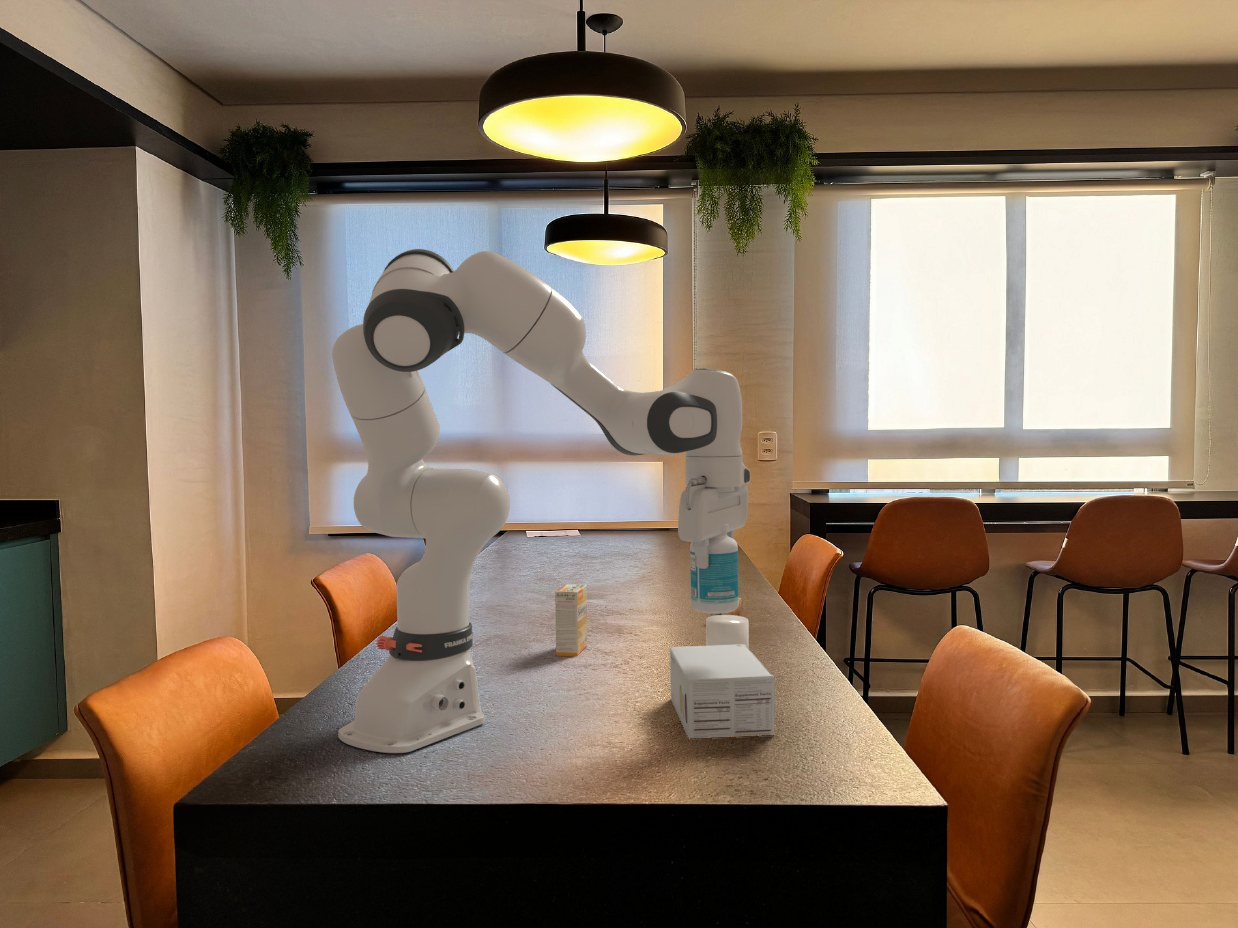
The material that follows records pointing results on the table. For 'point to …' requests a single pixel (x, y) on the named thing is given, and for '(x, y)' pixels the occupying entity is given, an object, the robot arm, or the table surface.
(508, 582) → the table surface
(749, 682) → the supplement box
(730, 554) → the pill bottle
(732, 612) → the food
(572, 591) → the supplement box
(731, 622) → the white rounded cylinder
